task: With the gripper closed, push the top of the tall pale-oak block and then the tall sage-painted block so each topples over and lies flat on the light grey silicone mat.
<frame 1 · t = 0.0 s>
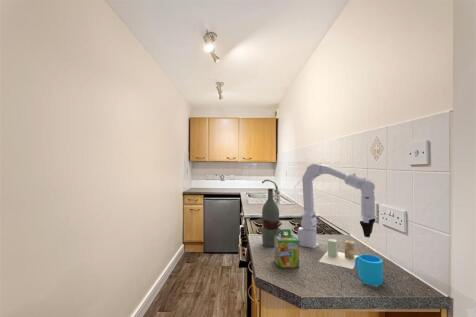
hand: (368, 235, 116), 10 cm above the counter, fingers open, 7 cm apart
chalk box: (286, 264, 108), on the counter
mug: (366, 278, 95), on the counter
oak block: (349, 257, 114), resting on mat
sage block: (332, 255, 116), resting on mat
mat: (339, 259, 112), on the counter
bottle: (270, 244, 133), on the counter
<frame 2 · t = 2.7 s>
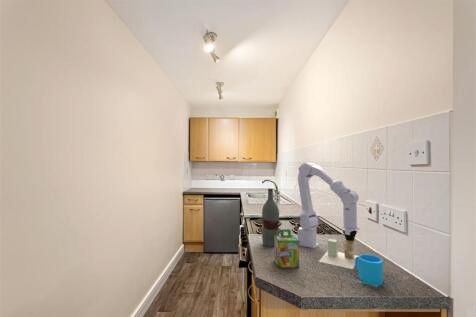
hand: (350, 246, 115), 5 cm above the counter, fingers closed
oak block: (349, 256, 114), point 1 cm above the counter, tilted 13°, touching mat
everything else where it was.
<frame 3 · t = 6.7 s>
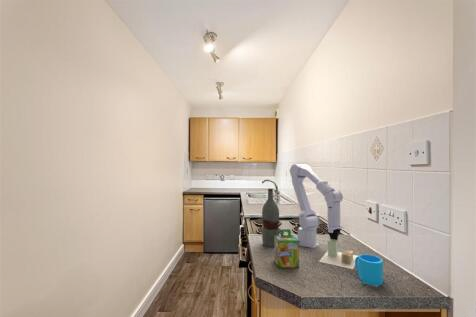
hand: (334, 244, 118), 5 cm above the counter, fingers closed
oak block: (348, 254, 112), point 2 cm above the counter, tilted 90°, touching mat
sage block: (332, 255, 116), point 1 cm above the counter, touching gripper, mat
everything else where it was.
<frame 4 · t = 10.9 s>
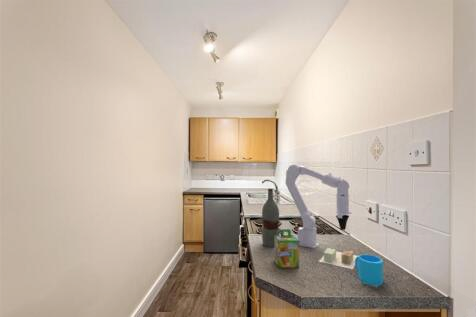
hand: (342, 229, 126), 10 cm above the counter, fingers closed
sage block: (331, 252, 115), point 2 cm above the counter, tilted 90°, touching mat
everything else where it was.
at the end: oak block tilted 90°; sage block tilted 90°; sage block inside the target area (3.9 cm from its centre), point 2.3 cm above the counter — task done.
